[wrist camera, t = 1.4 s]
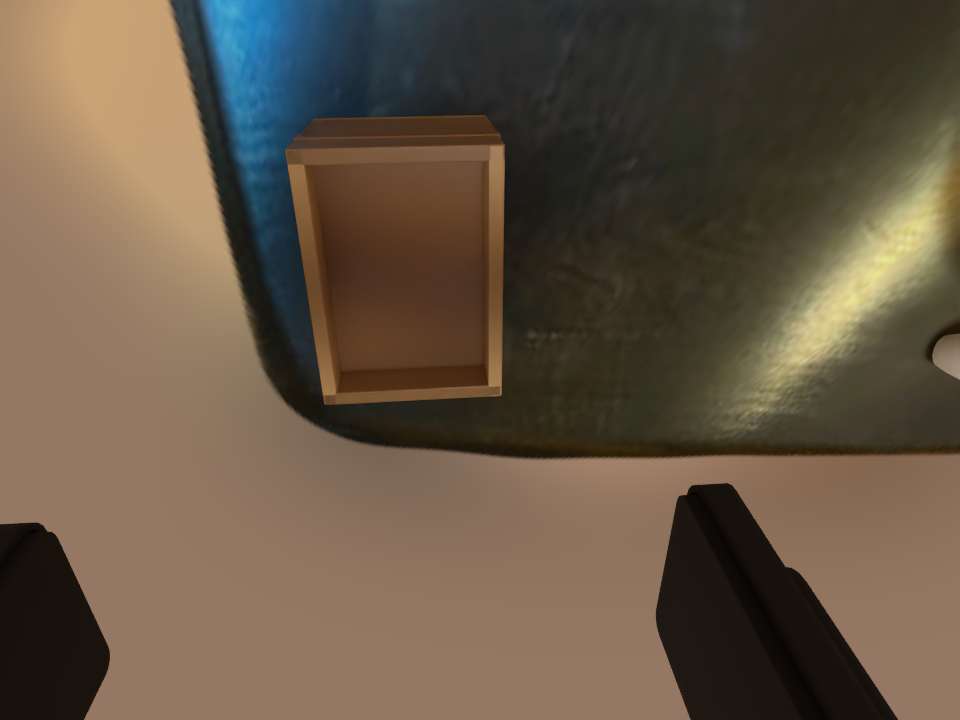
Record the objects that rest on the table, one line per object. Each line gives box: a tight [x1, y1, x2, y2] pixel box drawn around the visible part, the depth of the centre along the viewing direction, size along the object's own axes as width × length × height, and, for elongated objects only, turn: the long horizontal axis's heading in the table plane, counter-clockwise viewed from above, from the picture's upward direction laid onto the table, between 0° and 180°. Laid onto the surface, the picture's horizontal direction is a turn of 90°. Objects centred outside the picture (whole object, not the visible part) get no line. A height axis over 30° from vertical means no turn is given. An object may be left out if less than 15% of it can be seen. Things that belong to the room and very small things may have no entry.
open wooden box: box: [285, 115, 505, 405], centre depth 23 cm, size 9×7×6 cm
